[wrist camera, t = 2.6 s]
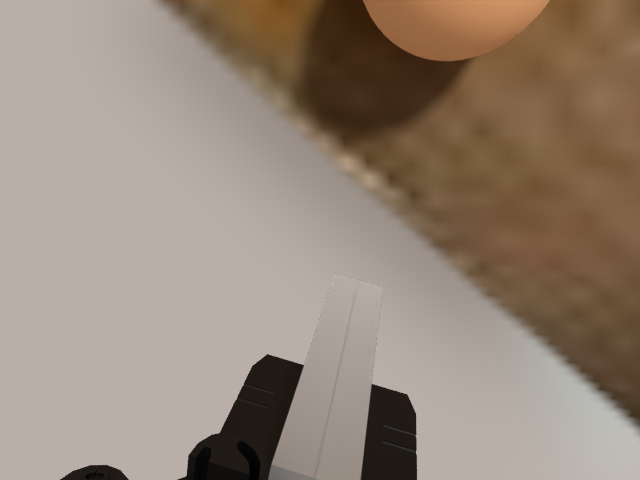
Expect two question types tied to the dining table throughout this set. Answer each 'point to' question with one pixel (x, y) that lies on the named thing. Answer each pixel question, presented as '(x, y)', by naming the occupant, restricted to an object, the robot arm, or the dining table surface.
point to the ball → (452, 25)
